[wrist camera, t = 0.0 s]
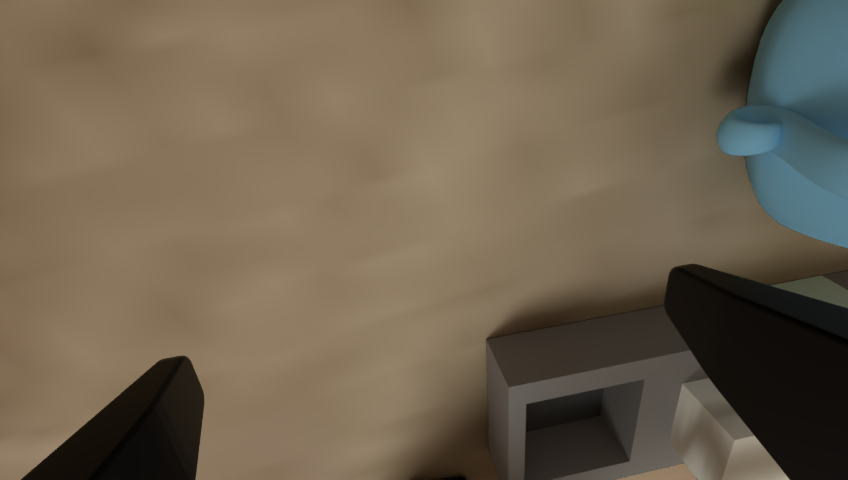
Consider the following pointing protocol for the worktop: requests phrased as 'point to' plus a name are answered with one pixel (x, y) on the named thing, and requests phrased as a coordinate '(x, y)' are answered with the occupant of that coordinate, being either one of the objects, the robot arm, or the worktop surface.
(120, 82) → the worktop surface
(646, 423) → the trap deck
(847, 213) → the decorative pot
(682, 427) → the cream block
